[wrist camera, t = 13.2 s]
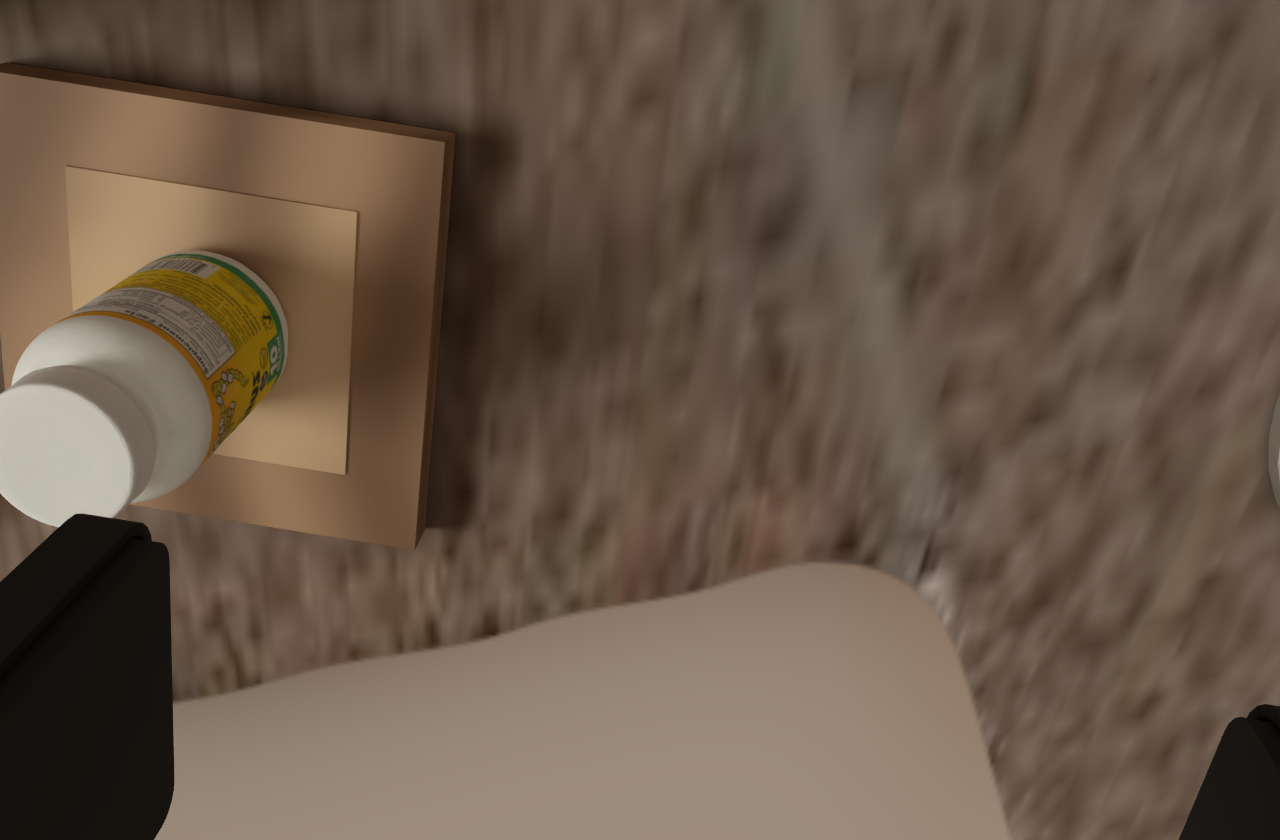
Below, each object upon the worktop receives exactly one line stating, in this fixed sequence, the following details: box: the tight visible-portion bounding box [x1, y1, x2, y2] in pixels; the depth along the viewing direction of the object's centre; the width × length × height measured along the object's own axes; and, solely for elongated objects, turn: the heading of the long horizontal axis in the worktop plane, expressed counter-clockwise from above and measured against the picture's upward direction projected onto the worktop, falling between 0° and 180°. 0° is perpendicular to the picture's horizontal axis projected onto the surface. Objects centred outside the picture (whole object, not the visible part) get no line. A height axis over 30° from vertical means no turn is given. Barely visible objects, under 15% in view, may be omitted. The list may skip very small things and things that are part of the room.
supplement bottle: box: [0, 250, 288, 527], centre depth 34 cm, size 5×5×10 cm
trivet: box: [0, 62, 456, 550], centre depth 39 cm, size 14×14×2 cm
